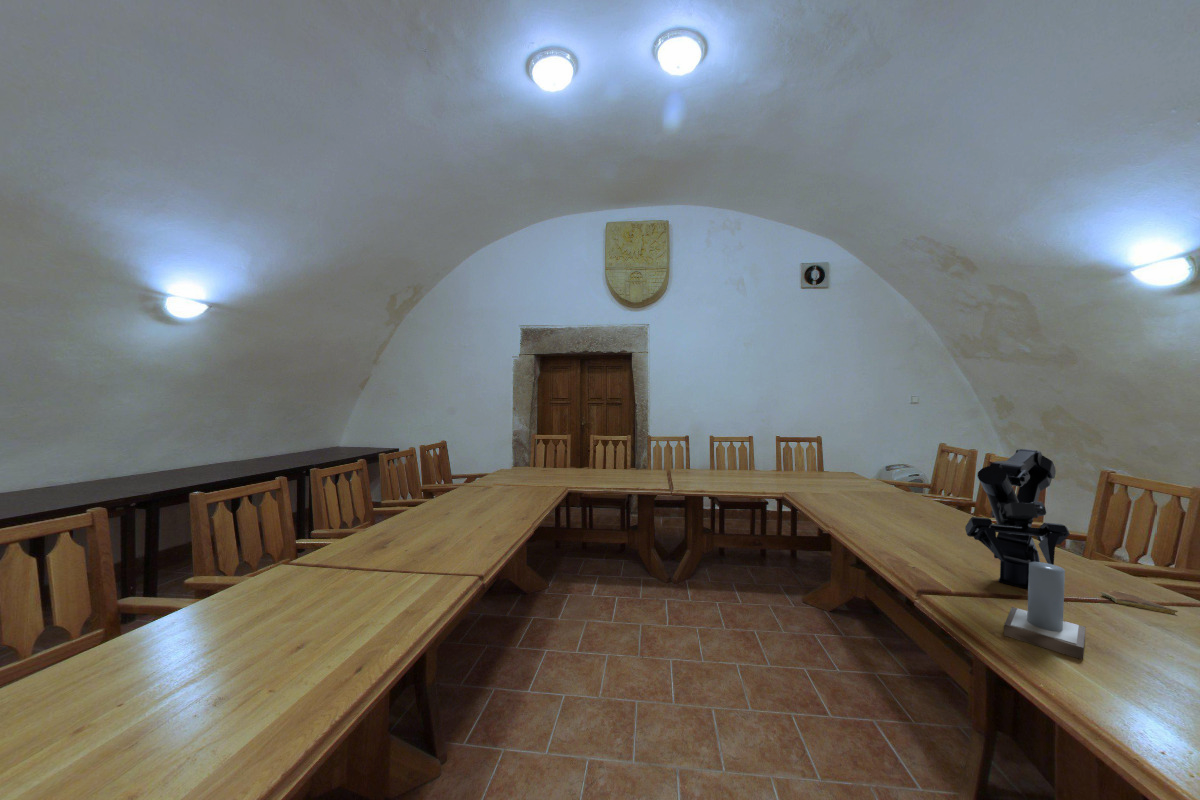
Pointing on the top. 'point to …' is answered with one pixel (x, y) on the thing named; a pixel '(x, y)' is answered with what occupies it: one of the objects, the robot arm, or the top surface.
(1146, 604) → the shard
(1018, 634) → the plate
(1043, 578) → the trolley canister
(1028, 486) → the robot arm
